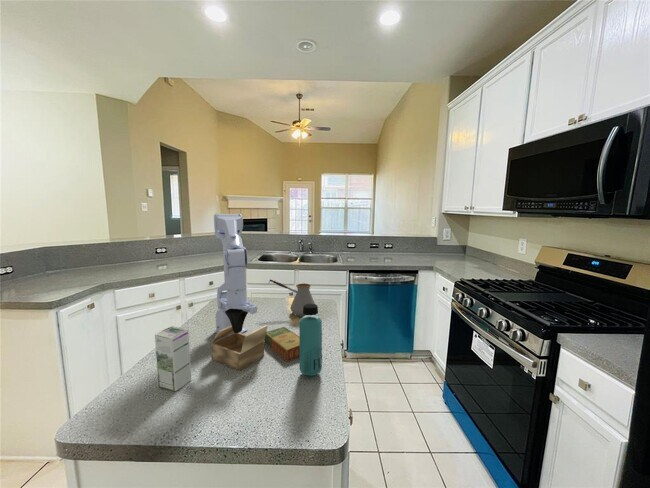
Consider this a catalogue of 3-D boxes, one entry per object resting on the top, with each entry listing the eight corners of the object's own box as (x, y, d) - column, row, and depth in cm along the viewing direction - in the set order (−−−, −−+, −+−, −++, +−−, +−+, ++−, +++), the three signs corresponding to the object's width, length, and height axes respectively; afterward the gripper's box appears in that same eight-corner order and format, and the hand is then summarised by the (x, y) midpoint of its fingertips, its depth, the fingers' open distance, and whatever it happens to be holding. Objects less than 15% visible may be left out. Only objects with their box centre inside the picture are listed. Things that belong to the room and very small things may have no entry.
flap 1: (212, 342, 87) (211, 341, 87) (235, 332, 95) (234, 330, 95) (220, 331, 85) (219, 330, 85) (242, 321, 92) (241, 320, 93)
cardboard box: (211, 359, 87) (211, 343, 87) (237, 346, 96) (236, 331, 95) (240, 370, 81) (239, 354, 81) (264, 355, 90) (263, 340, 89)
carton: (286, 363, 86) (286, 349, 86) (263, 343, 99) (263, 331, 98) (309, 354, 91) (309, 341, 91) (284, 336, 104) (284, 325, 103)
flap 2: (244, 335, 79) (245, 336, 79) (266, 324, 87) (267, 325, 87) (241, 352, 81) (242, 353, 81) (262, 340, 89) (264, 340, 88)
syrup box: (192, 379, 77) (189, 328, 75) (174, 392, 71) (171, 337, 70) (176, 375, 79) (173, 325, 77) (157, 388, 73) (153, 333, 71)
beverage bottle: (313, 384, 75) (314, 311, 73) (293, 376, 79) (293, 306, 76) (326, 372, 81) (327, 304, 79) (307, 365, 84) (307, 299, 82)
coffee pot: (317, 309, 131) (318, 277, 130) (314, 319, 120) (314, 284, 118) (272, 307, 133) (272, 276, 132) (265, 316, 122) (264, 282, 120)
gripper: (209, 288, 86) (210, 331, 88) (244, 295, 79) (245, 342, 80) (227, 283, 92) (229, 323, 94) (261, 289, 85) (262, 333, 86)
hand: (237, 331), depth 87 cm, fingers closed
